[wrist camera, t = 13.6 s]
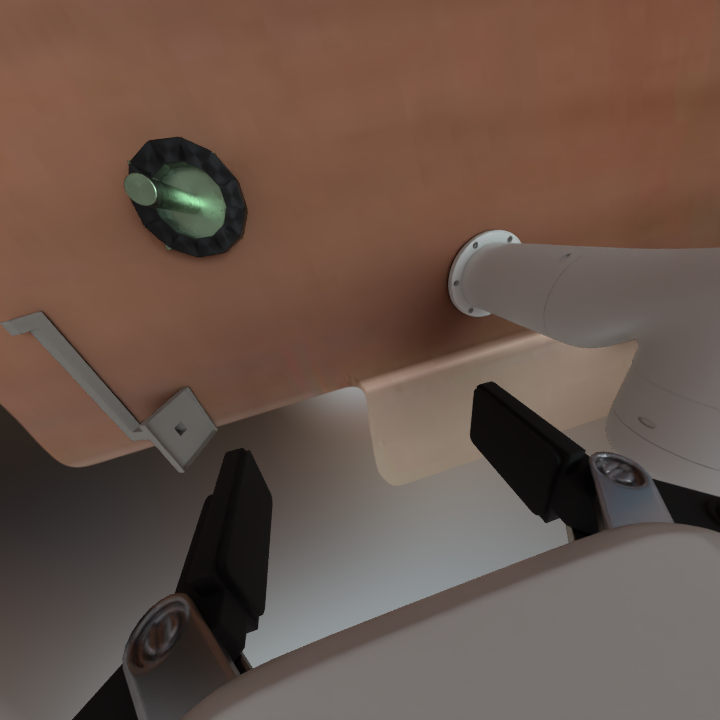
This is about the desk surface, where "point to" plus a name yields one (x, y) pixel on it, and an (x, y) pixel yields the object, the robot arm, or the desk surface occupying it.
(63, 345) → the toilet paper hanger
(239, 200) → the black ring
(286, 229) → the desk surface
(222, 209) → the post
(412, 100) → the desk surface
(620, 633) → the robot arm
